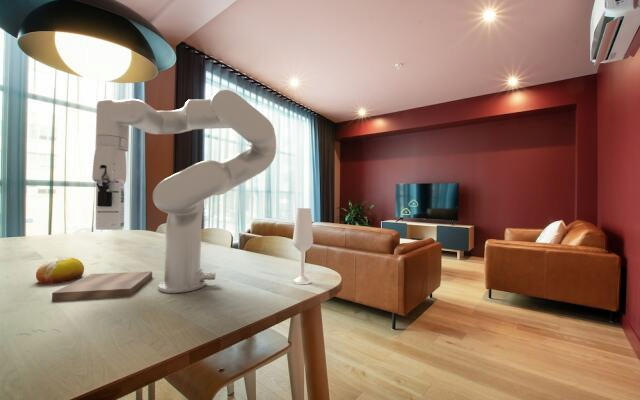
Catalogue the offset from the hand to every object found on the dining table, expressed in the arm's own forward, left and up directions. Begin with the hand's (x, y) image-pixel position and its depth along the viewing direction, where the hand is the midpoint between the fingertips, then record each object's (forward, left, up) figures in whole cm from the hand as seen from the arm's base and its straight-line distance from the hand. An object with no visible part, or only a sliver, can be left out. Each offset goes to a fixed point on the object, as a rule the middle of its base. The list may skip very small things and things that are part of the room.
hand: (110, 205), depth 79 cm
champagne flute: (-56, +5, -24) cm, 61 cm away
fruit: (+18, -12, -24) cm, 32 cm away
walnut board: (0, 0, -24) cm, 24 cm away
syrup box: (0, 0, -7) cm, 7 cm away
